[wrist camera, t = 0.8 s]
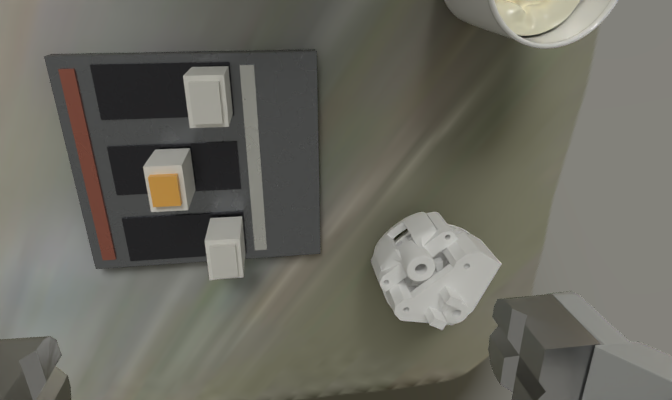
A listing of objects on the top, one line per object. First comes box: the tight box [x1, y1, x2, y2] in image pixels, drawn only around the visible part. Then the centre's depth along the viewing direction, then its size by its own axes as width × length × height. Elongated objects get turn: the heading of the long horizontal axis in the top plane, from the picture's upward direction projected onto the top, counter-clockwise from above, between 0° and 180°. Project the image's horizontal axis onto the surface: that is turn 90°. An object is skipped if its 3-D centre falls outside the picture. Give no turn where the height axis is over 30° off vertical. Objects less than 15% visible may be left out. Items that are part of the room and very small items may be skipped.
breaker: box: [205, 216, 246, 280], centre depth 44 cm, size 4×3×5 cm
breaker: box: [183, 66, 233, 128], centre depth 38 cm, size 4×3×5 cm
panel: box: [44, 49, 320, 269], centre depth 44 cm, size 20×22×2 cm
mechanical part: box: [371, 212, 502, 330], centre depth 47 cm, size 11×12×12 cm
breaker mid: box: [143, 148, 196, 212], centre depth 41 cm, size 4×3×5 cm
